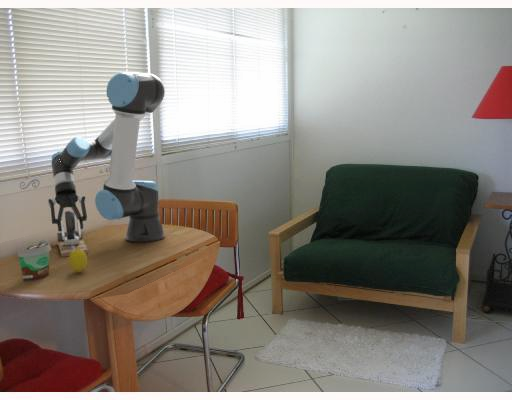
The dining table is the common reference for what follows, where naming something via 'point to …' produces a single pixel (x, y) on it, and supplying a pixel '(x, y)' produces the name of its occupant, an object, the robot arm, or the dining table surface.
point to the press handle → (70, 229)
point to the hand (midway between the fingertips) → (72, 236)
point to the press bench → (69, 248)
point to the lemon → (78, 260)
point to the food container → (35, 261)
